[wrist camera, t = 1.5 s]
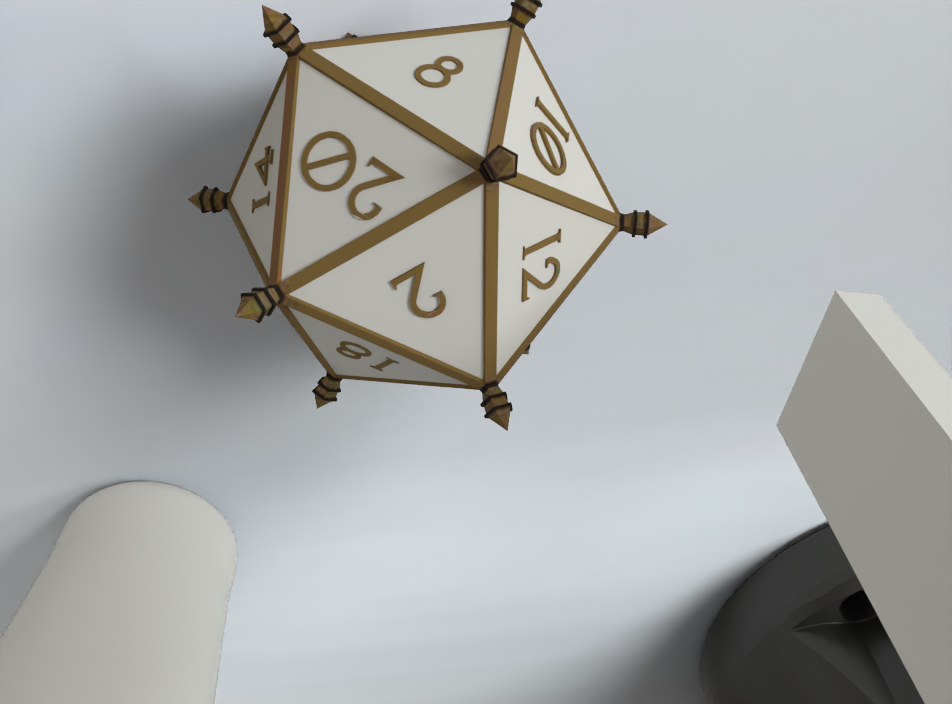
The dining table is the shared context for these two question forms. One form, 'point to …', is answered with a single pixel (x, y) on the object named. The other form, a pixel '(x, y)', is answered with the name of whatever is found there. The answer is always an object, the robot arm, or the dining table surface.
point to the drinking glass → (125, 604)
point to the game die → (418, 204)
